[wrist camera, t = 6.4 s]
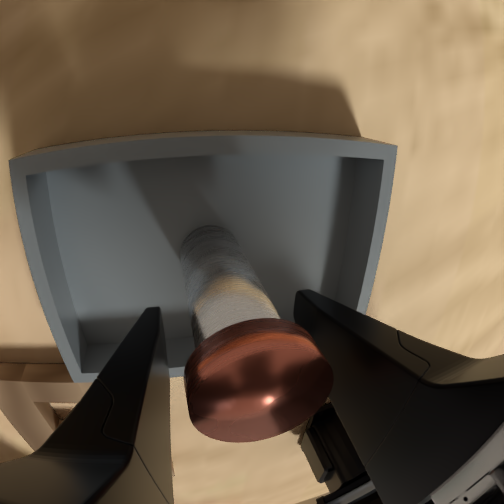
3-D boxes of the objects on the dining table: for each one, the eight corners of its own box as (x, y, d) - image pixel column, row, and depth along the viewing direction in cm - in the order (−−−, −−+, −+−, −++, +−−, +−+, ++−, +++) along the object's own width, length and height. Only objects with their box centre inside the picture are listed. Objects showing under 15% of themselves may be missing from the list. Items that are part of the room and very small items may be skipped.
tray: (362, 137, 13) (397, 145, 11) (334, 316, 17) (356, 344, 15) (36, 149, 9) (8, 160, 7) (81, 346, 14) (74, 382, 11)
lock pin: (249, 212, 12) (347, 335, 6) (247, 283, 14) (319, 424, 7) (167, 218, 12) (179, 364, 5) (173, 290, 13) (197, 450, 6)
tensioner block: (137, 360, 15) (137, 398, 13) (172, 461, 20) (176, 488, 18) (-14, 361, 12) (-27, 393, 10) (58, 461, 18) (57, 487, 15)
